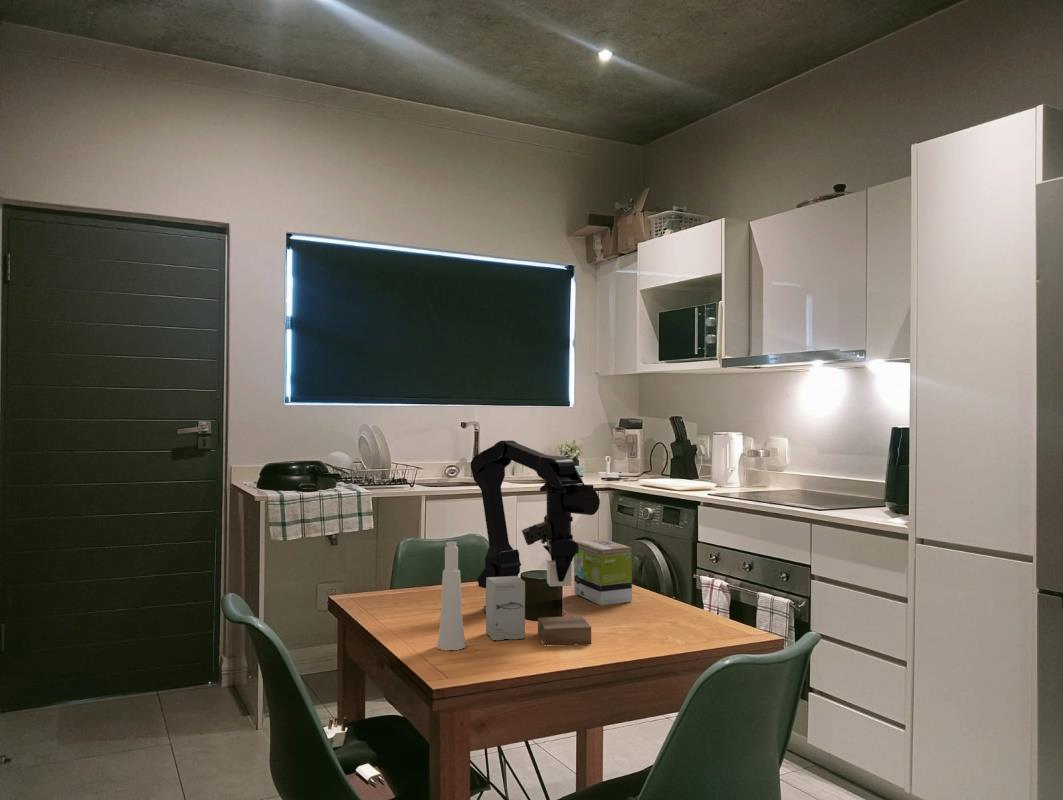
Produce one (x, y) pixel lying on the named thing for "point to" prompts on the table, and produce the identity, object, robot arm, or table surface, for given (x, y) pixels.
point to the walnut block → (564, 630)
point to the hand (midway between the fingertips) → (559, 579)
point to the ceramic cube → (553, 578)
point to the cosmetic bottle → (451, 603)
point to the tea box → (603, 572)
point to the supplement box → (505, 608)
